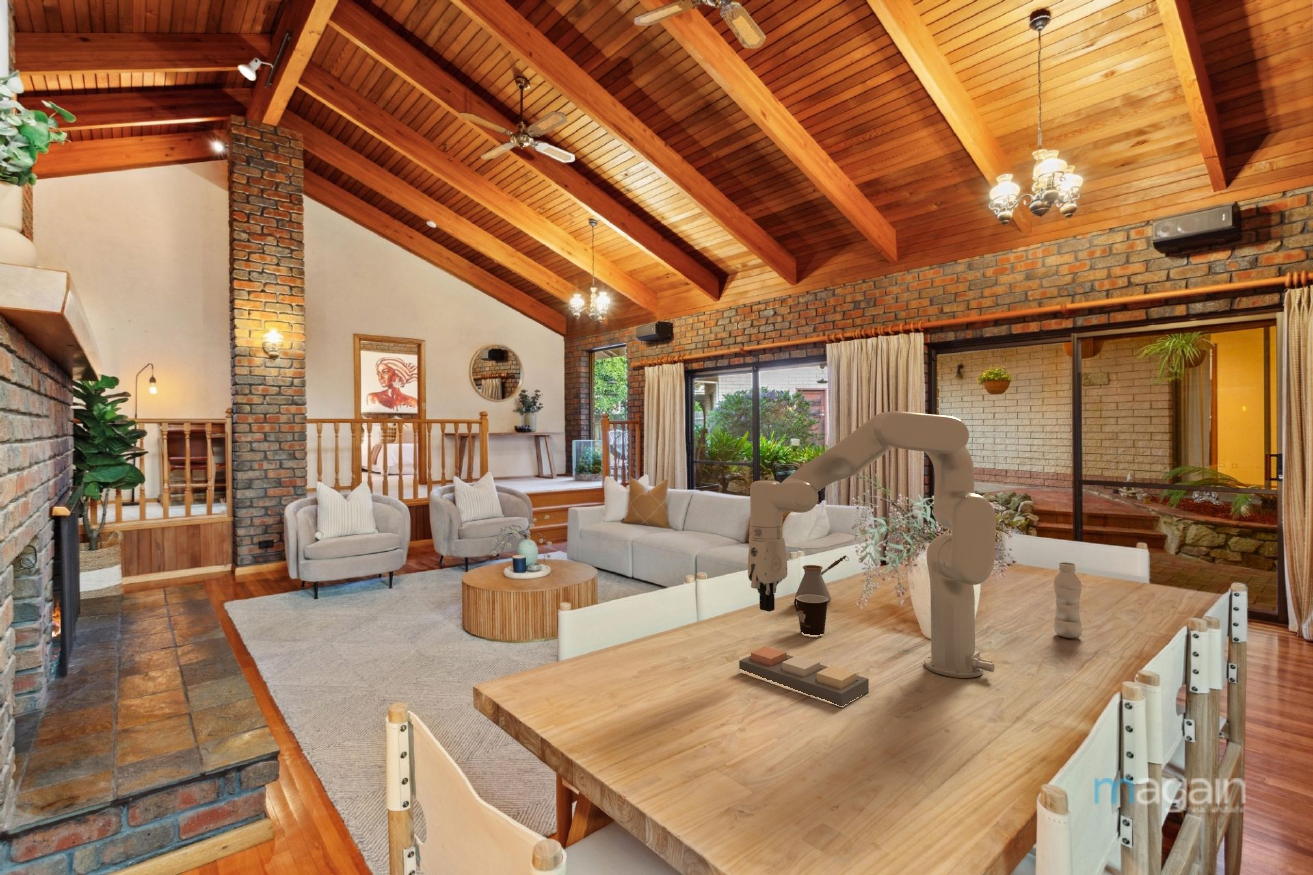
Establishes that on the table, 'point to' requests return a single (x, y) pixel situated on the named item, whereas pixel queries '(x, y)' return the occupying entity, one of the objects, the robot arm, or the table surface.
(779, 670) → the keypad
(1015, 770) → the table surface
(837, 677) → the block
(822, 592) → the coffee pot
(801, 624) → the coffee mug
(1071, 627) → the plastic bottle
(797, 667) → the key grey
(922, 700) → the table surface
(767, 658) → the key terracotta
